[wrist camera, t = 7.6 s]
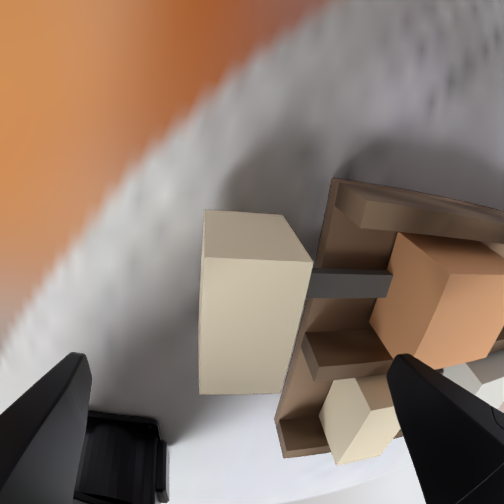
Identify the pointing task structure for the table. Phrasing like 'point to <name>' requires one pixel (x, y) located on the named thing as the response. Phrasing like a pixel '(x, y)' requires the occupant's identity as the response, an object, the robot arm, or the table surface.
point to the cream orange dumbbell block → (335, 286)
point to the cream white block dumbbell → (382, 409)
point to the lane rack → (360, 309)
